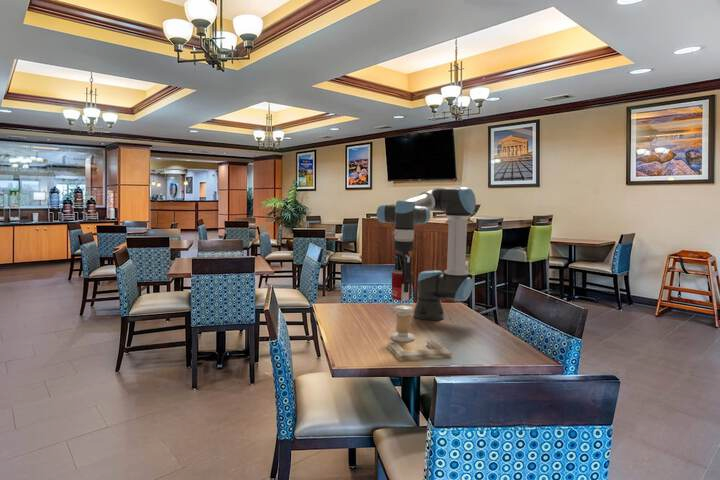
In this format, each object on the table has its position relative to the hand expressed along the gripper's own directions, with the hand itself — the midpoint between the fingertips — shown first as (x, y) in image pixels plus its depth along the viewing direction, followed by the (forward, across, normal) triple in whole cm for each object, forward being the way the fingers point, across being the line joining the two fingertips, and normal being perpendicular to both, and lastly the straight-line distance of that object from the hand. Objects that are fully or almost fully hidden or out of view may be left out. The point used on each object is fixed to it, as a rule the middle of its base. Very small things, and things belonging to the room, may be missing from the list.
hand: (401, 297), depth 176 cm
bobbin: (+19, -10, +4) cm, 22 cm away
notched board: (+19, +8, +5) cm, 22 cm away
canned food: (0, 0, 0) cm, 0 cm away
